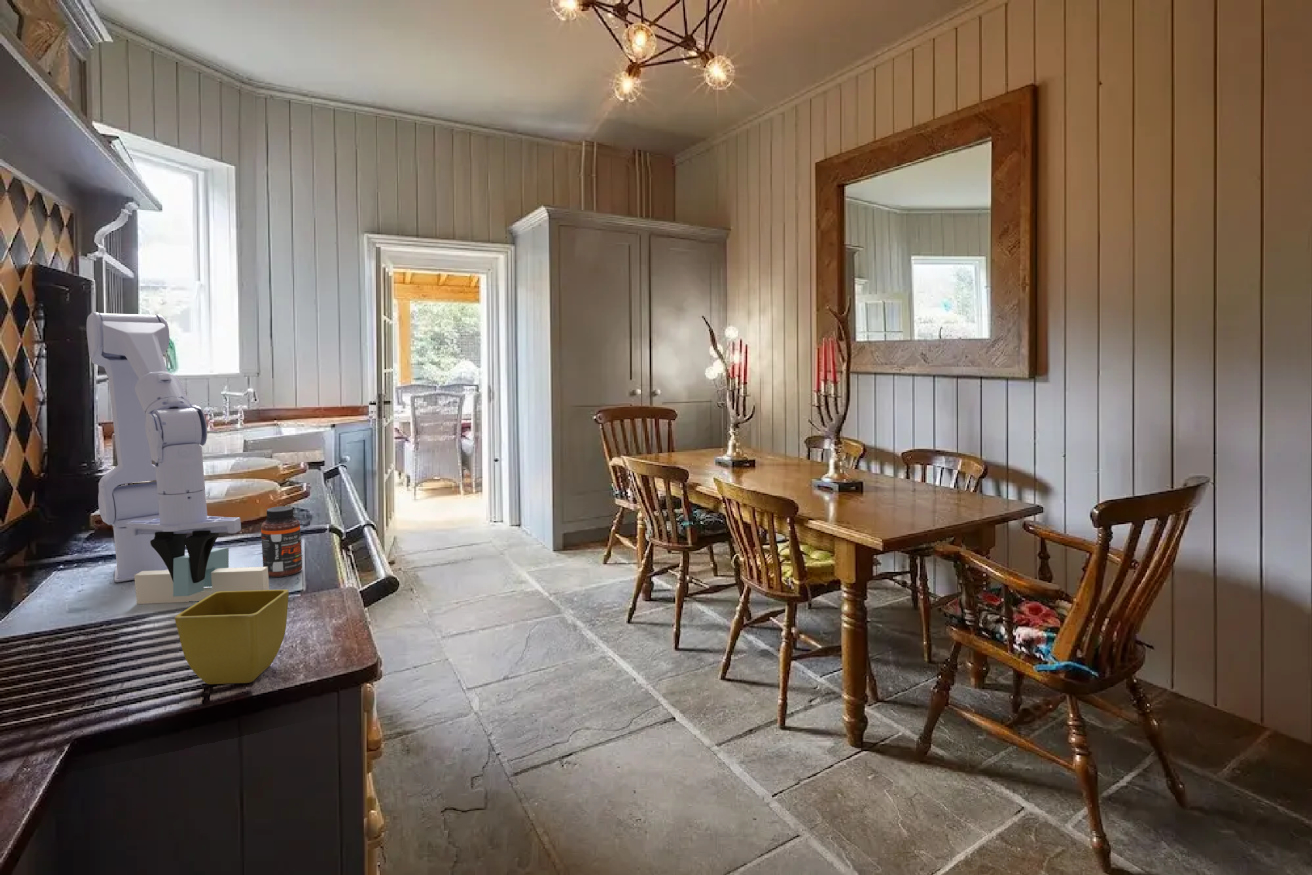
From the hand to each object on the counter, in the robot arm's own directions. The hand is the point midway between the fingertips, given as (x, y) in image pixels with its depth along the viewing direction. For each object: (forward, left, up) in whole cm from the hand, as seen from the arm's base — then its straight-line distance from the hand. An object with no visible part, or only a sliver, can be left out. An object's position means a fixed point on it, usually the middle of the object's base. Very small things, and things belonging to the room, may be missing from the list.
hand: (189, 581), depth 101 cm
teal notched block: (-3, +2, -2) cm, 4 cm away
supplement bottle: (-10, +14, -4) cm, 18 cm away
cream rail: (-3, +2, -4) cm, 6 cm away
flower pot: (+29, +3, -4) cm, 29 cm away
